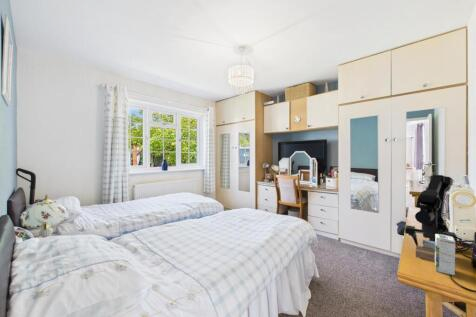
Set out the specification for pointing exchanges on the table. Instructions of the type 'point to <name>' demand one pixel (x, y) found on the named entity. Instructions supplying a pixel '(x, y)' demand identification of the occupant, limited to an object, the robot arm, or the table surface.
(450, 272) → the syrup box
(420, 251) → the walnut block
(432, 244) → the painted cube
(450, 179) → the robot arm
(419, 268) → the table surface
